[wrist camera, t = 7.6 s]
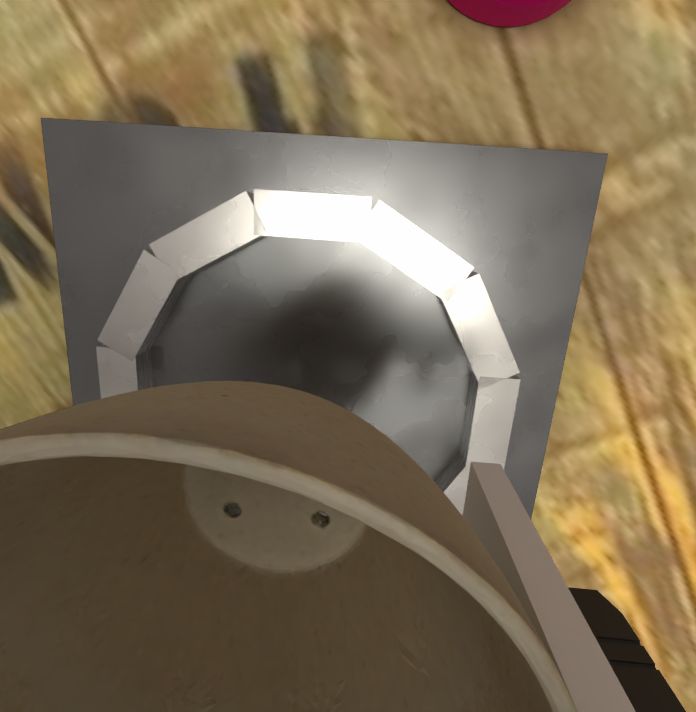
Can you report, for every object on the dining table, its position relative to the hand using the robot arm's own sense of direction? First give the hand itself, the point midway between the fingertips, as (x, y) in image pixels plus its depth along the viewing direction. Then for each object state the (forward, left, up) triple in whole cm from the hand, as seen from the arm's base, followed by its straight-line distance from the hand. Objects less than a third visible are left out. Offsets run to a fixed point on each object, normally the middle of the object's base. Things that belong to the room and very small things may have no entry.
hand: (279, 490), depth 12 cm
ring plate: (0, 0, -8) cm, 8 cm away
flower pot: (0, 0, 0) cm, 0 cm away
